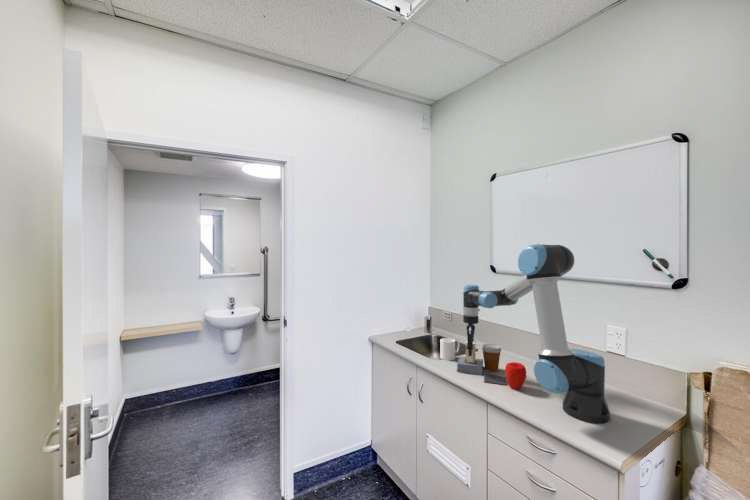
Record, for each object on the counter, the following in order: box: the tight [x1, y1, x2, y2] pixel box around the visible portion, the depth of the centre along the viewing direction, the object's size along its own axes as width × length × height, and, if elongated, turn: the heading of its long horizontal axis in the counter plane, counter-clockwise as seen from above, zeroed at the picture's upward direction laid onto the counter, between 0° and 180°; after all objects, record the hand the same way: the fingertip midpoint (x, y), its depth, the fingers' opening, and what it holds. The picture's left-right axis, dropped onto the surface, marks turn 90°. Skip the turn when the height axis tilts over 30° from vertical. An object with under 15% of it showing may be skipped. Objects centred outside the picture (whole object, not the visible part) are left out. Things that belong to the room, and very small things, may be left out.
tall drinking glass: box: [465, 340, 477, 364], centre depth 168 cm, size 5×5×14 cm
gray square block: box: [456, 356, 484, 376], centre depth 168 cm, size 12×12×4 cm
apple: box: [504, 361, 527, 390], centre depth 146 cm, size 9×9×11 cm
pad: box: [483, 373, 508, 387], centre depth 154 cm, size 10×10×1 cm
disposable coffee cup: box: [481, 343, 502, 373], centre depth 167 cm, size 10×10×12 cm
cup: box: [439, 337, 461, 361], centre depth 186 cm, size 8×12×10 cm
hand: (470, 359), depth 168 cm, fingers open, 5 cm apart
